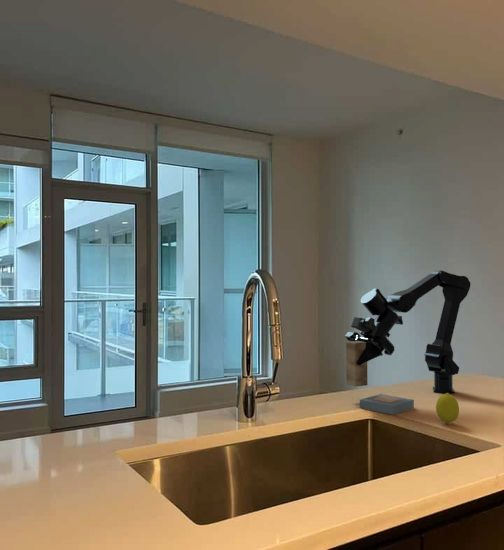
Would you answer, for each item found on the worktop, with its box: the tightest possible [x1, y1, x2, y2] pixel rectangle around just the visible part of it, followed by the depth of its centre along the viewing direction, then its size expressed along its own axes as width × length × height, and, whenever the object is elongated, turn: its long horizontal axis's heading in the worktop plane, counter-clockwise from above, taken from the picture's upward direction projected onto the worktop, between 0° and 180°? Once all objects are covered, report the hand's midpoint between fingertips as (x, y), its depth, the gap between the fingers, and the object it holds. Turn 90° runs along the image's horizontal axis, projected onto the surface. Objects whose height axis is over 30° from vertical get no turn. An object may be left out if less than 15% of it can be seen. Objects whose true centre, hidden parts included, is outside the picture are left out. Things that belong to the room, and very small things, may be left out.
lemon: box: [435, 393, 460, 425], centre depth 132 cm, size 6×6×8 cm
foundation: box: [359, 393, 415, 416], centre depth 150 cm, size 11×11×3 cm
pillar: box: [345, 341, 369, 388], centre depth 158 cm, size 4×4×13 cm
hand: (353, 363), depth 158 cm, fingers closed on pillar, 4 cm apart
